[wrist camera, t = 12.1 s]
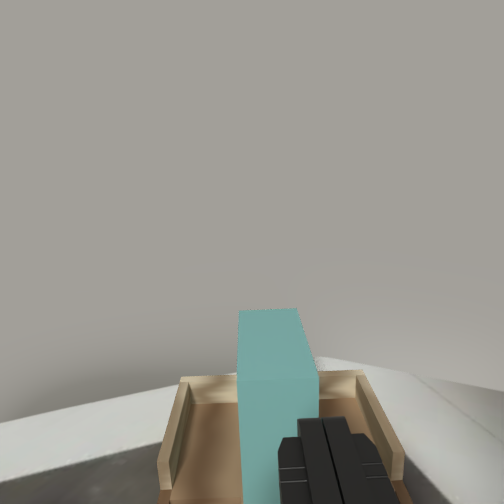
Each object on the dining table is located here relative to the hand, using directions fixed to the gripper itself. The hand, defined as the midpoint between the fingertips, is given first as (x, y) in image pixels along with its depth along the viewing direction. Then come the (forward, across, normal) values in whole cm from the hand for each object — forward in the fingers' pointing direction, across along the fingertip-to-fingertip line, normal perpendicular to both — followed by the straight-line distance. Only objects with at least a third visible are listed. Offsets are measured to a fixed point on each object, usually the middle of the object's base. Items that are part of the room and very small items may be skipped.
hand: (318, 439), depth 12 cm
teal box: (+19, +1, +20) cm, 27 cm away
